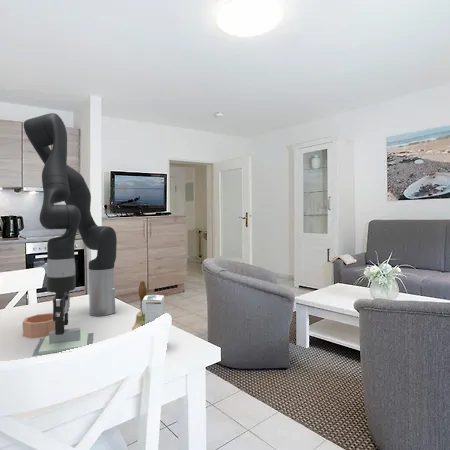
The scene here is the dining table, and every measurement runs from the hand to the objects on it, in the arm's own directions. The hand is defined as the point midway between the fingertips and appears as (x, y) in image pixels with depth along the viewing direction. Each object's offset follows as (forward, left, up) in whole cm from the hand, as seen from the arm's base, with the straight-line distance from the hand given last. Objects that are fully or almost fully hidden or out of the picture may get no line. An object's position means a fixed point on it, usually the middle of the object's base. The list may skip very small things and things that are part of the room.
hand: (62, 329), depth 99 cm
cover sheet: (-1, 0, -4) cm, 4 cm away
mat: (-1, 0, -5) cm, 5 cm away
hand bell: (-24, -6, -5) cm, 25 cm away
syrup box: (-25, +10, -5) cm, 27 cm away
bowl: (+7, -13, -5) cm, 16 cm away
